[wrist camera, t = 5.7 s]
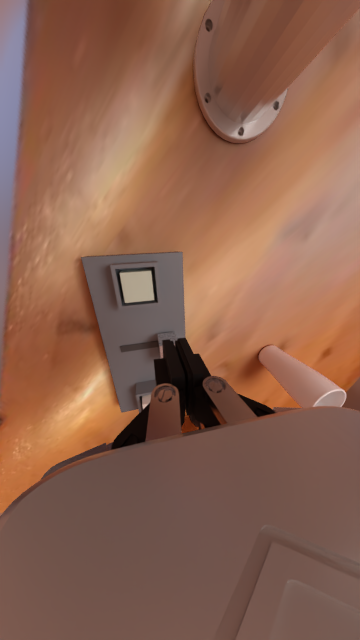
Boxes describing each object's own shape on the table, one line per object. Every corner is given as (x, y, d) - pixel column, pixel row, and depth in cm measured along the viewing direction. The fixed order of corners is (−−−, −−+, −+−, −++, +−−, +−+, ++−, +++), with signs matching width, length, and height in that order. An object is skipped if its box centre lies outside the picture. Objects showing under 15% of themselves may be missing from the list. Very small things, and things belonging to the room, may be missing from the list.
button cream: (142, 391, 32) (142, 404, 29) (163, 387, 32) (165, 400, 30) (144, 406, 33) (145, 420, 31) (164, 402, 34) (166, 415, 31)
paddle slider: (157, 333, 29) (159, 346, 25) (174, 331, 29) (179, 343, 26) (159, 355, 31) (162, 369, 27) (175, 352, 31) (180, 366, 27)
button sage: (122, 270, 24) (119, 273, 21) (150, 268, 25) (151, 270, 22) (126, 297, 26) (125, 303, 23) (153, 294, 26) (154, 300, 24)
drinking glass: (254, 368, 42) (308, 424, 28) (254, 345, 39) (314, 396, 26) (278, 360, 43) (342, 412, 29) (280, 338, 40) (351, 384, 26)
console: (87, 256, 25) (72, 258, 20) (178, 251, 28) (187, 252, 22) (122, 400, 37) (119, 426, 32) (184, 388, 40) (190, 410, 34)
